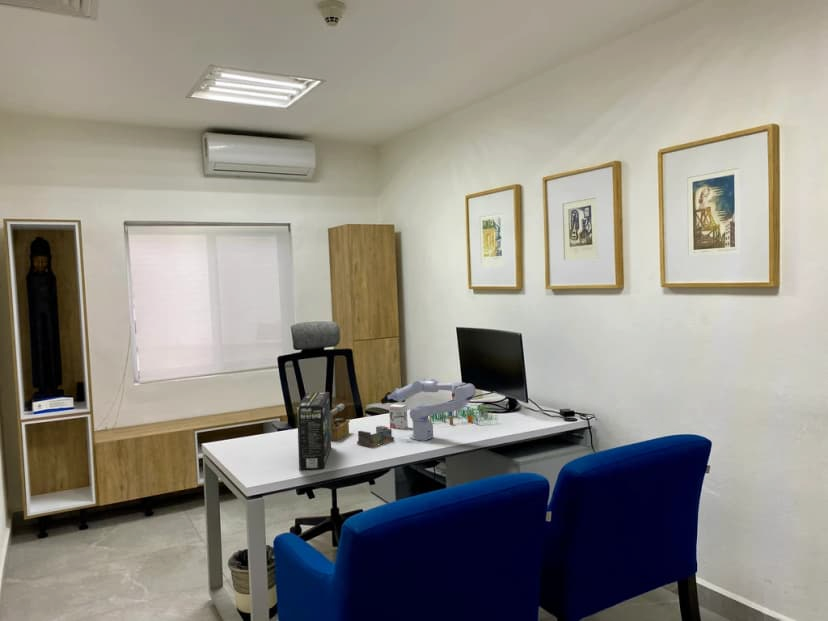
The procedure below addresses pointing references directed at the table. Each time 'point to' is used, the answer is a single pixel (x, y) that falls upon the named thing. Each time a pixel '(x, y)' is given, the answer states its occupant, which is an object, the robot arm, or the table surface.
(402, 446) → the table surface
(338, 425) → the geiger counter
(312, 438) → the router box
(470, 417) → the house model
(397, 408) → the ink box
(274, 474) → the table surface
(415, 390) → the robot arm
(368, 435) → the stone ruin model
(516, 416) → the table surface
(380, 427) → the gauge slider
